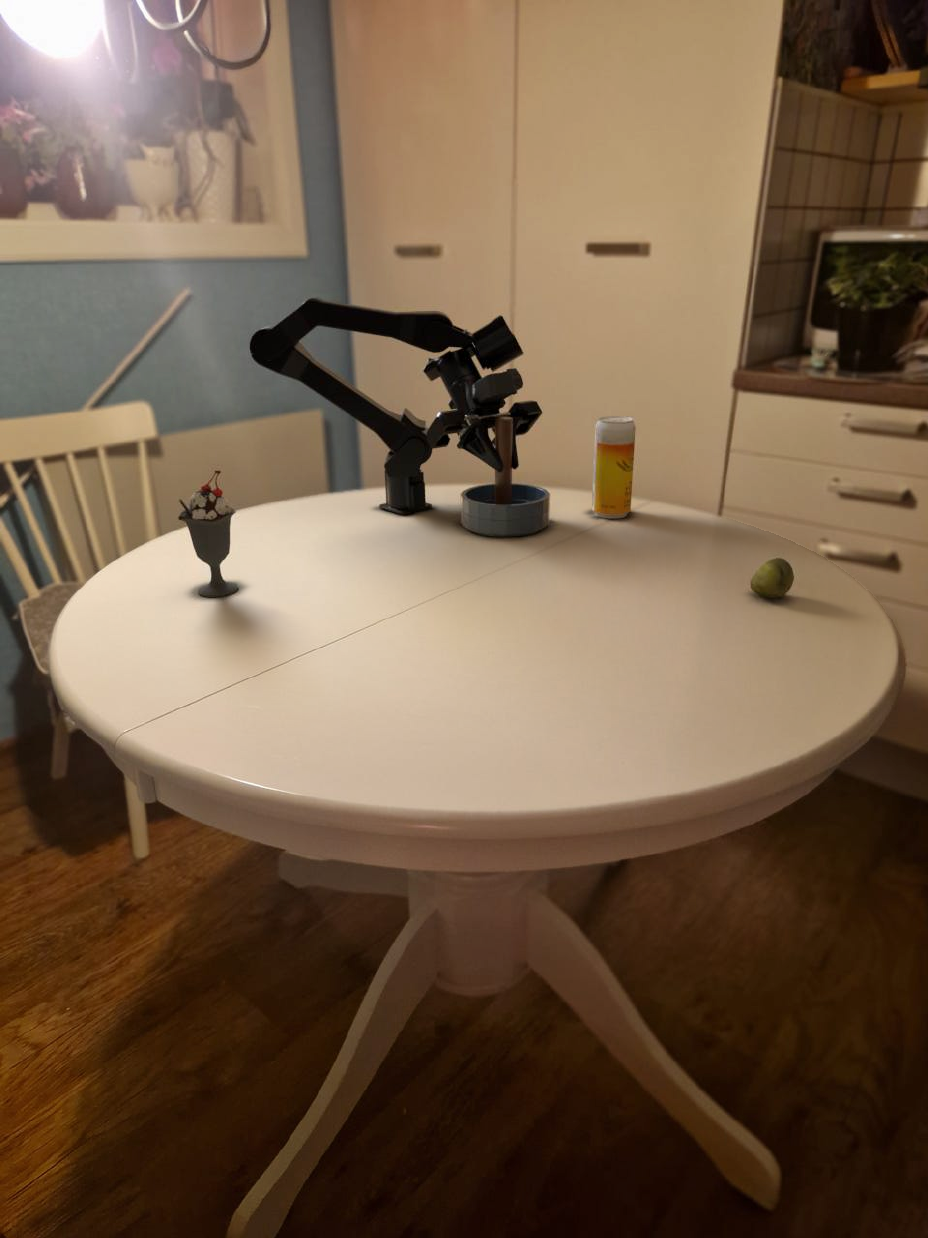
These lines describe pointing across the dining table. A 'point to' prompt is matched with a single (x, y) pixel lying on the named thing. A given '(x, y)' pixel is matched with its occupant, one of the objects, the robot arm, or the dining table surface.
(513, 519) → the bowl
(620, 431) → the beer can
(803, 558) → the dining table surface
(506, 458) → the stick
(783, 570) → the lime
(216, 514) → the sundae
